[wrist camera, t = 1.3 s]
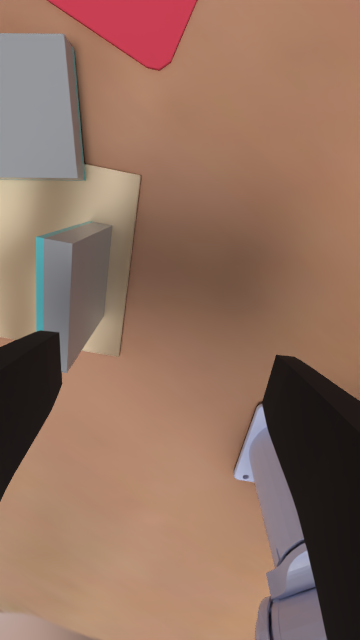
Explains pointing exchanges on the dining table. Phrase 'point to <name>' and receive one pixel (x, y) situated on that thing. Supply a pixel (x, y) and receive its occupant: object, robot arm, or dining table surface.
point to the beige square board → (55, 214)
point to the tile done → (39, 109)
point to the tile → (72, 284)
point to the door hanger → (135, 25)
